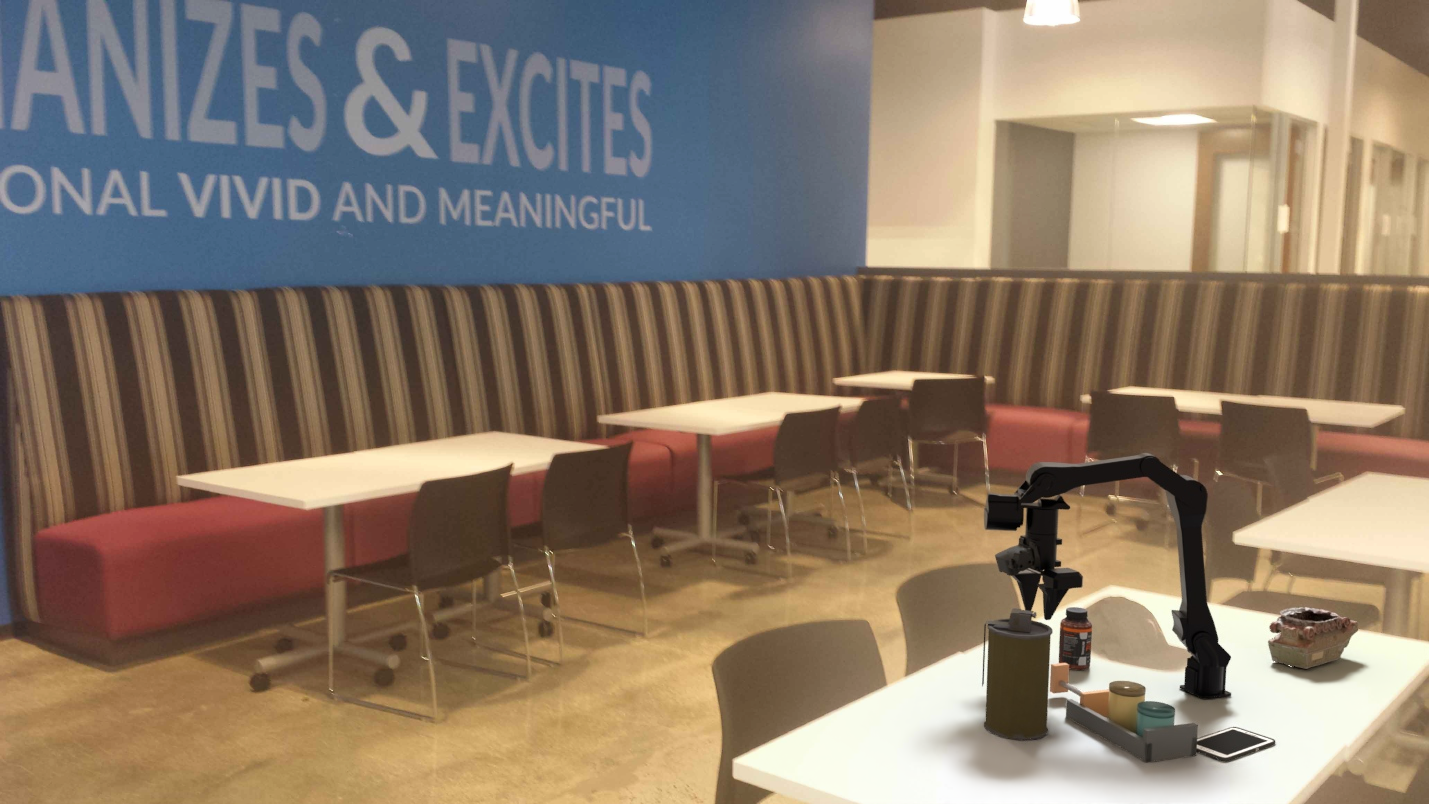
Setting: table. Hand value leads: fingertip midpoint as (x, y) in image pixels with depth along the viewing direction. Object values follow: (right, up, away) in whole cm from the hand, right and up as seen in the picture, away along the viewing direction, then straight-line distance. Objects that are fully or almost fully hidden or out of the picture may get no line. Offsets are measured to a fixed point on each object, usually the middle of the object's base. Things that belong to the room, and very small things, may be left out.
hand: (1037, 615), depth 225 cm
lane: (+9, -16, -24) cm, 30 cm away
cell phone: (+24, -17, -28) cm, 40 cm away
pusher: (+4, -14, -11) cm, 18 cm away
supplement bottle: (+10, -12, +12) cm, 20 cm away
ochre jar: (+8, -16, -23) cm, 29 cm away
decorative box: (+59, -12, +20) cm, 64 cm away
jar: (+11, -16, -30) cm, 36 cm away
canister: (-10, -15, -22) cm, 28 cm away
